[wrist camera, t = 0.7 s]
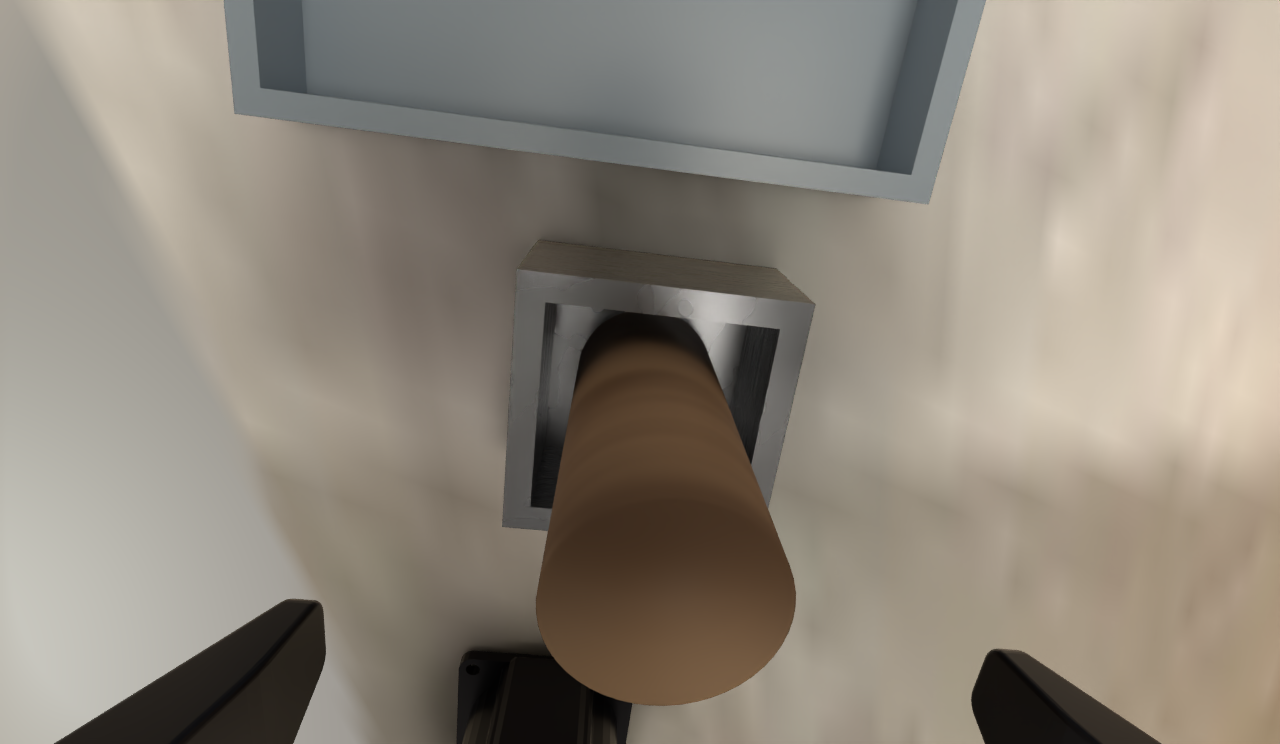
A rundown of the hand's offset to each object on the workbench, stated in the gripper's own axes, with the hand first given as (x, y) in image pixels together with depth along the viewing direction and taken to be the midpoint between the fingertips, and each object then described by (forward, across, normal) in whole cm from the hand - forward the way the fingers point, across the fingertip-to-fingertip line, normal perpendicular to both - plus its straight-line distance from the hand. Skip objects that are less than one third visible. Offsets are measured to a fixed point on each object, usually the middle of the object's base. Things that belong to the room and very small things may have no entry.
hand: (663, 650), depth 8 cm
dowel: (+11, 0, 0) cm, 11 cm away
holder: (+12, 0, 0) cm, 12 cm away
